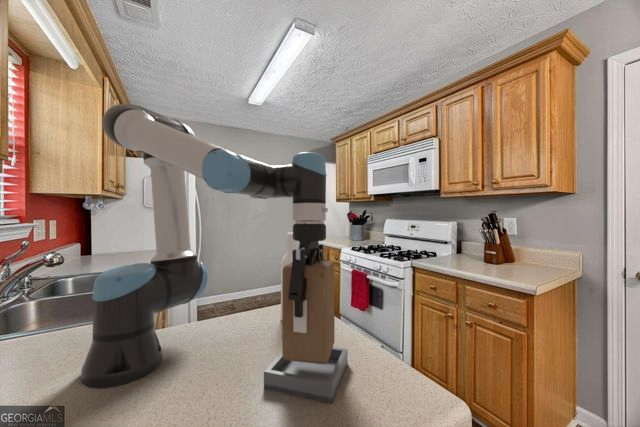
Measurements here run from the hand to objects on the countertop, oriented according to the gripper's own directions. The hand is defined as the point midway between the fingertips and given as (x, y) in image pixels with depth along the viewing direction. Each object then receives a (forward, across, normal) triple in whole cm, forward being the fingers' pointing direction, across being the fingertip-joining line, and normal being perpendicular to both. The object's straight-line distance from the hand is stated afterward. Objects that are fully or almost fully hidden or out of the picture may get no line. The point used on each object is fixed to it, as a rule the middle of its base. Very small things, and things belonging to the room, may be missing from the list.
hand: (309, 321), depth 60 cm
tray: (+12, 0, 0) cm, 12 cm away
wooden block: (+7, 0, 0) cm, 7 cm away
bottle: (+12, +30, +17) cm, 36 cm away
